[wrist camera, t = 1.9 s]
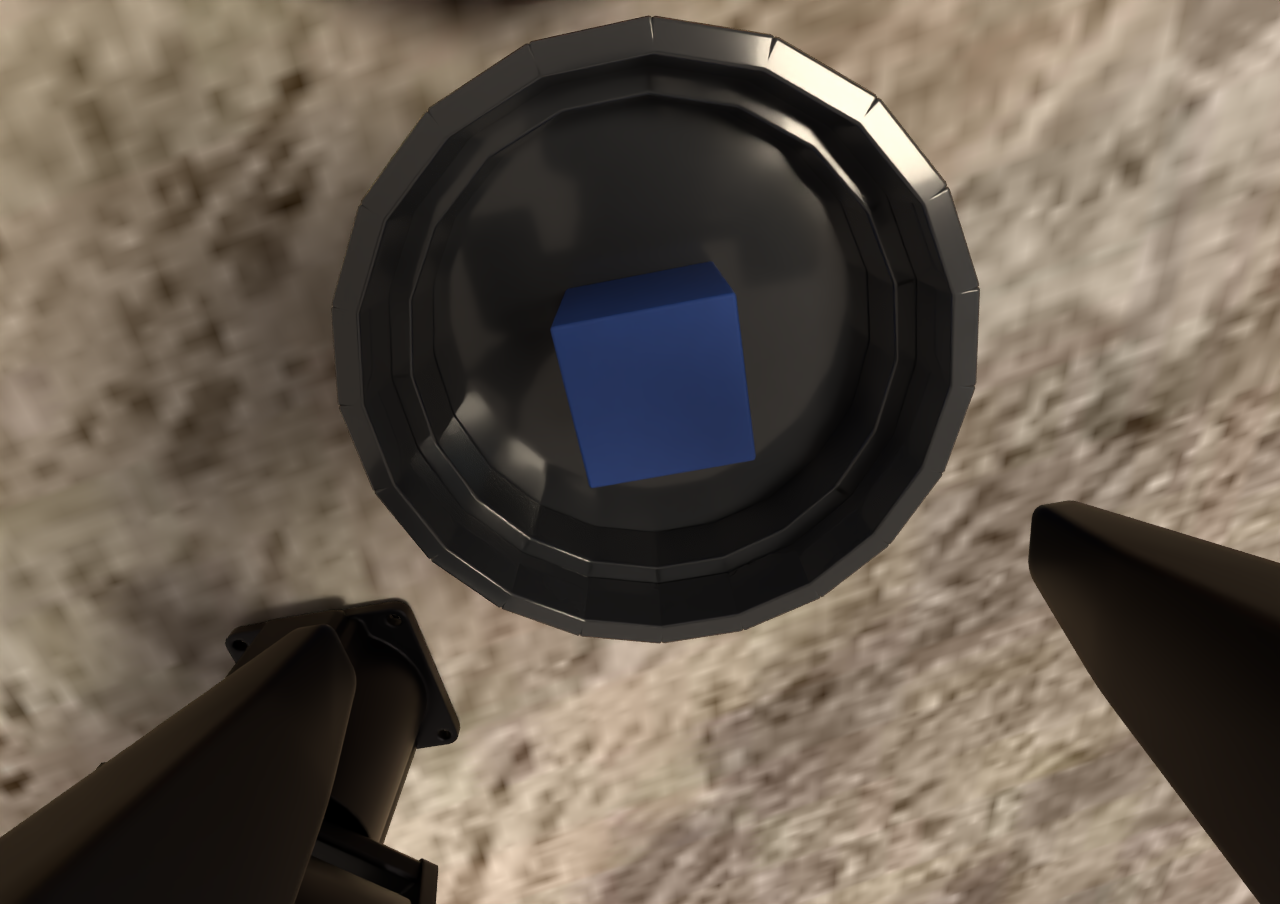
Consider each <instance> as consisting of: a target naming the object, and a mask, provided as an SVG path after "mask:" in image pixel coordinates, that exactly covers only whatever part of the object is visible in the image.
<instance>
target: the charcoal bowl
mask: <svg viewBox="0 0 1280 904" xmlns="http://www.w3.org/2000/svg"><path fill="white" fill-rule="evenodd" d="M710 261H711V262H713V263H714V264H715V266H716V267H717V268H718V270H719V271H720V273H721V274H722V276H723V277H724V278H725V280H726V281H727V283H728V284H729V285H730V287H731V288H732V290H733V291H734V293H735V294H736V298H737V306H738V315H739V323H740V331H741V339H742V347H743V356H744V364H745V372H746V380H747V389H748V397H749V405H750V413H751V422H752V430H753V438H754V446H755V454H756V457H755V460H752V461H747V462H741V463H735V464H729V465H724V466H718V467H712V468H706V469H700V470H695V471H689V472H683V473H677V474H671V475H666V476H660V477H654V478H648V479H643V480H637V481H631V482H625V483H619V484H614V485H608V486H602V487H596V488H591V487H590V486H589V483H588V479H587V475H586V471H585V467H584V463H583V459H582V455H581V451H580V447H579V443H578V439H577V435H576V431H575V427H574V423H573V419H572V415H571V411H570V407H569V403H568V399H567V395H566V391H565V387H564V383H563V379H562V375H561V371H560V367H559V363H558V359H557V355H556V351H555V347H554V343H553V339H552V335H551V331H550V329H551V326H552V323H553V321H554V318H555V316H556V313H557V311H558V308H559V306H560V304H561V301H562V299H563V296H564V294H565V291H566V290H567V289H570V288H575V287H580V286H585V285H590V284H596V283H601V282H606V281H611V280H616V279H622V278H627V277H632V276H637V275H642V274H647V273H653V272H658V271H663V270H668V269H673V268H679V267H684V266H689V265H694V264H699V263H705V262H710ZM978 286H979V282H978V279H977V275H976V272H975V269H974V266H973V263H972V259H971V256H970V253H969V250H968V247H967V243H966V240H965V237H964V234H963V231H962V227H961V224H960V221H959V218H958V215H957V211H956V208H955V205H954V202H953V199H952V195H951V192H950V189H949V188H948V187H947V184H946V181H945V180H944V179H943V178H942V176H941V175H940V174H939V173H938V171H937V170H936V169H935V167H934V166H933V165H932V164H931V162H930V161H929V160H928V159H927V157H926V156H925V155H924V153H923V152H922V151H921V150H920V148H919V147H918V146H917V144H916V143H915V142H914V141H913V139H912V138H911V137H910V136H909V134H908V133H907V132H906V130H905V129H904V128H903V127H902V125H901V124H900V123H899V122H898V120H897V119H896V118H895V116H894V115H893V114H892V113H891V111H890V110H889V109H888V107H887V106H886V105H885V104H884V102H883V101H882V100H881V99H880V98H877V96H876V94H874V93H873V92H871V91H869V90H867V89H866V88H864V87H862V86H861V85H859V84H857V83H856V82H854V81H852V80H851V79H849V78H847V77H845V76H844V75H842V74H840V73H839V72H837V71H835V70H834V69H832V68H830V67H829V66H827V65H825V64H823V63H822V62H820V61H818V60H817V59H815V58H813V57H812V56H810V55H808V54H807V53H805V52H803V51H801V50H800V49H798V48H796V47H795V46H793V45H791V44H790V43H788V42H786V41H784V40H783V39H781V38H779V37H774V36H773V35H771V34H766V33H760V32H754V31H747V30H741V29H735V28H728V27H722V26H716V25H710V24H703V23H697V22H691V21H684V20H678V19H672V18H666V17H659V16H654V17H651V16H645V17H640V18H636V19H631V20H626V21H622V22H617V23H613V24H608V25H604V26H599V27H594V28H590V29H585V30H581V31H576V32H571V33H567V34H562V35H558V36H553V37H548V38H544V39H539V40H535V41H531V42H530V43H529V44H525V45H523V46H522V47H520V48H519V49H517V50H516V51H514V52H513V53H511V54H509V55H508V56H506V57H505V58H503V59H502V60H500V61H499V62H497V63H496V64H494V65H493V66H491V67H490V68H488V69H487V70H485V71H484V72H482V73H481V74H479V75H478V76H476V77H475V78H473V79H472V80H470V81H469V82H467V83H466V84H464V85H462V86H461V87H459V88H458V89H456V90H455V91H453V92H452V93H450V94H449V95H447V96H446V97H444V98H443V99H441V100H440V101H438V102H437V103H435V104H434V105H432V106H431V107H429V109H428V111H426V112H424V114H423V115H422V117H421V118H420V119H419V121H418V122H417V123H416V125H415V126H414V128H413V129H412V130H411V132H410V133H409V135H408V136H407V137H406V139H405V140H404V142H403V143H402V144H401V146H400V147H399V148H398V150H397V151H396V153H395V154H394V155H393V157H392V158H391V160H390V161H389V162H388V164H387V165H386V167H385V168H384V169H383V171H382V172H381V173H380V175H379V176H378V178H377V179H376V180H375V182H374V183H373V185H372V186H371V187H370V189H369V190H368V192H367V193H366V194H365V196H364V197H363V198H362V200H361V204H360V205H359V206H358V210H357V213H356V217H355V221H354V224H353V228H352V231H351V235H350V239H349V242H348V246H347V250H346V253H345V257H344V260H343V264H342V268H341V271H340V275H339V278H338V282H337V286H336V289H335V293H334V297H333V300H332V306H333V307H332V308H331V315H332V329H333V343H334V357H335V371H336V385H337V399H338V405H340V406H339V409H340V412H341V414H342V417H343V419H344V421H345V424H346V426H347V429H348V431H349V434H350V436H351V438H352V441H353V443H354V446H355V448H356V450H357V453H358V455H359V458H360V460H361V462H362V465H363V467H364V470H365V472H366V475H367V477H368V479H369V482H370V484H371V487H372V489H373V490H374V491H375V494H376V495H377V496H378V498H379V499H380V500H381V501H382V503H383V504H384V505H385V506H386V507H387V509H388V510H389V511H390V512H391V513H392V515H393V516H394V517H395V518H396V519H397V521H398V522H399V523H400V524H401V525H402V527H403V528H404V529H405V530H406V531H407V533H408V534H409V535H410V536H411V538H412V539H413V540H414V541H415V542H416V544H417V545H418V546H419V547H420V548H421V550H422V551H423V552H424V553H425V554H426V556H427V557H428V558H429V559H431V561H432V562H433V563H435V564H436V565H438V566H439V567H441V568H442V569H444V570H445V571H447V572H448V573H449V574H451V575H452V576H454V577H455V578H457V579H458V580H460V581H461V582H463V583H464V584H466V585H467V586H468V587H470V588H471V589H473V590H474V591H476V592H477V593H479V594H480V595H482V596H483V597H485V598H486V599H487V600H489V601H490V602H492V603H493V604H495V605H496V606H498V607H502V609H504V610H506V611H509V612H512V613H515V614H518V615H521V616H523V617H526V618H529V619H532V620H535V621H538V622H540V623H543V624H546V625H549V626H552V627H555V628H557V629H560V630H563V631H566V632H569V633H572V634H574V635H580V636H583V637H594V638H605V639H616V640H627V641H638V642H650V643H661V642H662V643H668V642H675V641H681V640H687V639H694V638H700V637H707V636H713V635H719V634H726V633H732V632H739V631H742V630H743V629H744V630H747V629H749V628H751V627H754V626H756V625H758V624H761V623H763V622H765V621H768V620H770V619H772V618H775V617H777V616H780V615H782V614H784V613H787V612H789V611H791V610H794V609H796V608H798V607H801V606H803V605H805V604H808V603H810V602H813V601H815V600H817V599H819V598H820V597H823V596H824V595H826V594H827V593H828V592H830V591H831V590H832V589H834V588H835V587H836V586H837V585H839V584H840V583H841V582H843V581H844V580H845V579H847V578H848V577H849V576H850V575H852V574H853V573H854V572H856V571H857V570H858V569H860V568H861V567H862V566H863V565H865V564H866V563H867V562H869V561H870V560H871V559H873V558H874V557H875V556H876V555H878V554H879V553H880V552H882V551H883V550H884V549H886V548H887V547H888V546H889V545H888V544H891V543H892V541H893V540H894V539H895V537H896V536H897V535H898V533H899V532H900V531H901V529H902V528H903V527H904V525H905V524H906V523H907V521H908V520H909V519H910V517H911V516H912V515H913V513H914V512H915V511H916V510H917V508H918V507H919V506H920V504H921V503H922V502H923V500H924V499H925V498H926V496H927V495H928V494H929V492H930V491H931V490H932V488H933V487H934V486H935V484H936V483H937V482H938V480H939V479H940V478H941V476H942V473H943V472H944V471H945V468H946V466H947V463H948V460H949V457H950V455H951V452H952V449H953V447H954V444H955V441H956V439H957V436H958V433H959V431H960V428H961V425H962V422H963V420H964V417H965V414H966V412H967V409H968V406H969V404H970V401H971V398H972V395H973V393H974V390H975V386H974V385H976V376H977V350H978V324H979V298H980V289H979V287H978Z"/></svg>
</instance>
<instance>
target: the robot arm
mask: <svg viewBox="0 0 1280 904" xmlns="http://www.w3.org/2000/svg"><path fill="white" fill-rule="evenodd" d="M1028 564H1029V570H1030V574H1031V576H1032V579H1033V581H1034V583H1035V584H1036V586H1037V588H1038V589H1039V591H1040V593H1041V594H1042V596H1043V598H1044V599H1045V601H1046V603H1047V604H1048V606H1049V608H1050V609H1051V611H1052V613H1053V614H1054V616H1055V618H1056V619H1057V621H1058V623H1059V624H1060V626H1061V628H1062V629H1063V631H1064V633H1065V634H1066V636H1067V638H1068V639H1069V641H1070V643H1071V644H1072V646H1073V648H1074V649H1075V651H1076V653H1077V654H1078V656H1079V658H1080V659H1081V661H1082V663H1083V664H1084V666H1085V668H1086V669H1087V671H1088V673H1089V674H1090V676H1091V677H1092V679H1093V680H1094V682H1095V683H1096V685H1097V687H1098V688H1099V689H1100V691H1101V692H1102V694H1103V695H1104V696H1105V698H1106V699H1107V701H1108V702H1109V703H1110V705H1111V706H1112V708H1113V709H1114V710H1115V712H1116V713H1117V714H1118V716H1119V717H1120V718H1121V720H1122V721H1123V722H1124V723H1125V725H1126V726H1127V727H1128V729H1129V730H1130V731H1131V733H1132V734H1133V735H1134V737H1135V738H1136V739H1137V741H1138V742H1139V743H1140V745H1141V746H1142V747H1143V749H1144V750H1145V751H1146V753H1147V754H1148V755H1149V757H1150V758H1151V759H1152V761H1153V762H1154V763H1155V765H1156V766H1157V767H1158V769H1159V770H1160V771H1161V773H1162V774H1163V775H1164V777H1165V778H1166V779H1167V781H1168V782H1169V783H1170V785H1171V786H1172V787H1173V789H1174V790H1175V791H1176V793H1177V794H1178V795H1179V797H1180V798H1181V799H1182V801H1183V802H1184V803H1185V805H1186V806H1187V807H1188V809H1189V810H1190V811H1191V813H1192V814H1193V815H1194V817H1195V818H1196V819H1197V821H1198V822H1199V823H1200V825H1201V826H1202V827H1203V829H1204V830H1205V831H1206V833H1207V834H1208V835H1209V837H1210V838H1211V839H1212V841H1213V842H1214V843H1215V845H1216V846H1217V847H1218V849H1219V850H1220V851H1221V853H1222V854H1223V855H1224V857H1225V858H1226V859H1227V860H1228V862H1229V863H1230V864H1231V866H1232V867H1233V868H1234V870H1235V871H1236V872H1237V874H1238V875H1239V876H1240V878H1241V879H1242V880H1243V882H1244V883H1245V884H1246V886H1247V887H1248V888H1249V890H1250V891H1251V892H1252V894H1253V895H1254V896H1255V898H1256V899H1257V900H1258V902H1259V903H1260V904H1280V563H1278V562H1274V561H1271V560H1268V559H1265V558H1261V557H1258V556H1255V555H1251V554H1248V553H1245V552H1242V551H1238V550H1235V549H1232V548H1228V547H1225V546H1222V545H1219V544H1215V543H1212V542H1209V541H1205V540H1202V539H1199V538H1196V537H1192V536H1189V535H1186V534H1182V533H1179V532H1176V531H1173V530H1169V529H1166V528H1163V527H1159V526H1156V525H1153V524H1150V523H1146V522H1143V521H1140V520H1136V519H1133V518H1130V517H1126V516H1123V515H1120V514H1117V513H1113V512H1110V511H1107V510H1103V509H1100V508H1097V507H1094V506H1090V505H1087V504H1084V503H1080V502H1077V501H1063V502H1057V503H1051V504H1045V505H1040V506H1039V507H1037V508H1036V509H1035V511H1034V513H1033V516H1032V523H1031V534H1030V546H1029V558H1028ZM391 615H397V616H399V617H400V619H396V618H394V617H392V616H391ZM241 640H242V641H244V642H246V643H244V642H242V641H241ZM225 645H226V648H227V649H228V651H229V653H230V654H231V656H232V658H233V659H234V661H235V663H236V664H235V665H234V667H233V668H232V669H231V671H230V672H229V674H228V675H227V676H226V678H225V679H223V680H222V681H221V682H219V683H218V684H216V685H215V686H214V687H212V688H211V689H209V690H208V691H207V692H205V693H204V694H202V695H201V696H199V697H198V698H197V699H195V700H194V701H192V702H191V703H190V704H188V705H187V706H185V707H184V708H183V709H181V710H180V711H178V712H177V713H175V714H174V715H173V716H171V717H170V718H168V719H167V720H166V721H164V722H163V723H161V724H160V725H158V726H157V727H156V728H154V729H153V730H151V731H150V732H149V733H147V734H146V735H144V736H143V737H142V738H140V739H139V740H137V741H136V742H134V743H133V744H132V745H130V746H129V747H127V748H126V749H125V750H123V751H122V752H120V753H119V754H118V755H116V756H115V757H113V758H112V759H110V760H109V761H108V762H104V763H101V764H100V765H99V766H98V767H97V769H96V770H95V771H94V772H92V773H91V774H89V775H88V776H86V777H85V778H84V779H82V780H81V781H79V782H78V783H77V784H75V785H74V786H72V787H71V788H69V789H68V790H67V791H65V792H64V793H62V794H61V795H60V796H58V797H57V798H55V799H54V800H53V801H51V802H50V803H48V804H47V805H45V806H44V807H43V808H41V809H40V810H38V811H37V812H36V813H34V814H33V815H31V816H30V817H29V818H27V819H26V820H24V821H23V822H21V823H20V824H19V825H17V826H16V827H14V828H13V829H12V830H10V831H9V832H7V833H6V834H4V835H3V836H2V837H0V904H436V893H437V879H438V866H437V865H435V864H433V863H431V862H429V861H427V860H424V859H420V860H419V861H418V860H416V859H414V858H412V857H410V856H407V855H405V854H403V853H401V852H399V851H397V850H394V849H392V848H390V847H388V846H386V845H384V844H383V843H384V840H385V837H386V835H387V832H388V829H389V826H390V823H391V820H392V817H393V814H394V811H395V809H396V806H397V803H398V800H399V797H400V794H401V791H402V788H403V785H404V783H405V780H406V777H407V774H408V771H409V768H410V765H411V762H412V760H413V757H414V754H415V751H416V749H418V748H425V747H432V746H438V745H445V744H450V743H453V742H454V741H456V739H457V737H458V734H459V730H460V724H459V721H458V719H457V717H456V714H455V712H454V710H453V707H452V705H451V703H450V700H449V698H448V695H447V693H446V691H445V688H444V686H443V684H442V681H441V679H440V677H439V674H438V672H437V669H436V667H435V665H434V662H433V660H432V658H431V655H430V653H429V651H428V648H427V646H426V644H425V641H424V639H423V636H422V634H421V632H420V629H419V627H418V625H417V622H416V620H415V618H414V615H413V613H412V611H411V609H410V608H409V606H407V605H406V604H404V603H402V602H399V601H392V602H386V603H380V604H374V605H368V606H362V607H356V608H350V609H344V610H329V611H323V612H317V613H310V614H304V615H298V616H292V617H286V618H280V619H274V620H269V621H268V622H265V623H259V624H253V625H247V626H241V627H238V628H235V629H234V630H233V631H232V632H231V634H230V635H229V636H228V637H227V639H226V642H225ZM445 730H447V731H445Z"/></svg>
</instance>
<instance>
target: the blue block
mask: <svg viewBox="0 0 1280 904" xmlns="http://www.w3.org/2000/svg"><path fill="white" fill-rule="evenodd" d="M550 331H551V335H552V339H553V343H554V347H555V351H556V355H557V359H558V363H559V367H560V371H561V375H562V379H563V383H564V387H565V391H566V395H567V399H568V403H569V407H570V411H571V415H572V419H573V423H574V427H575V431H576V435H577V439H578V443H579V447H580V451H581V455H582V459H583V463H584V467H585V471H586V475H587V479H588V483H589V486H590V487H591V488H596V487H602V486H608V485H614V484H619V483H625V482H631V481H637V480H643V479H648V478H654V477H660V476H666V475H671V474H677V473H683V472H689V471H695V470H700V469H706V468H712V467H718V466H724V465H729V464H735V463H741V462H747V461H752V460H755V457H756V454H755V446H754V438H753V430H752V422H751V413H750V405H749V397H748V389H747V380H746V372H745V364H744V356H743V347H742V339H741V331H740V323H739V315H738V306H737V298H736V294H735V293H734V291H733V290H732V288H731V287H730V285H729V284H728V283H727V281H726V280H725V278H724V277H723V276H722V274H721V273H720V271H719V270H718V268H717V267H716V266H715V264H714V263H713V262H711V261H710V262H705V263H699V264H694V265H689V266H684V267H679V268H673V269H668V270H663V271H658V272H653V273H647V274H642V275H637V276H632V277H627V278H622V279H616V280H611V281H606V282H601V283H596V284H590V285H585V286H580V287H575V288H570V289H567V290H566V291H565V294H564V296H563V299H562V301H561V304H560V306H559V308H558V311H557V313H556V316H555V318H554V321H553V323H552V326H551V329H550Z"/></svg>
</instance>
